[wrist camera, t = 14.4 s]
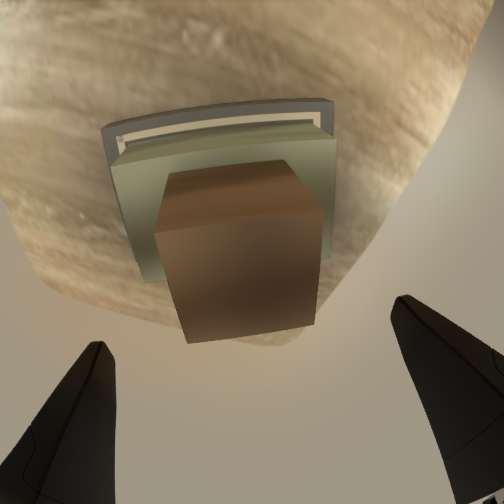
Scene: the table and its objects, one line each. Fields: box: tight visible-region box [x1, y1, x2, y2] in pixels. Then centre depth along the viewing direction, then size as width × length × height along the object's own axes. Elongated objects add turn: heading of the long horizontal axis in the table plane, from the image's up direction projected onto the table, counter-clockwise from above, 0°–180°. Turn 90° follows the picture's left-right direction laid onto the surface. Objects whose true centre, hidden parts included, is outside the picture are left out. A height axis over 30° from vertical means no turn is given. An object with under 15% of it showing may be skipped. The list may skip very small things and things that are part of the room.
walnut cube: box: [154, 159, 324, 344], centre depth 12 cm, size 5×5×5 cm
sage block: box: [110, 122, 337, 283], centre depth 16 cm, size 6×10×4 cm, turn 94°
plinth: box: [101, 98, 334, 262], centre depth 18 cm, size 9×13×2 cm
